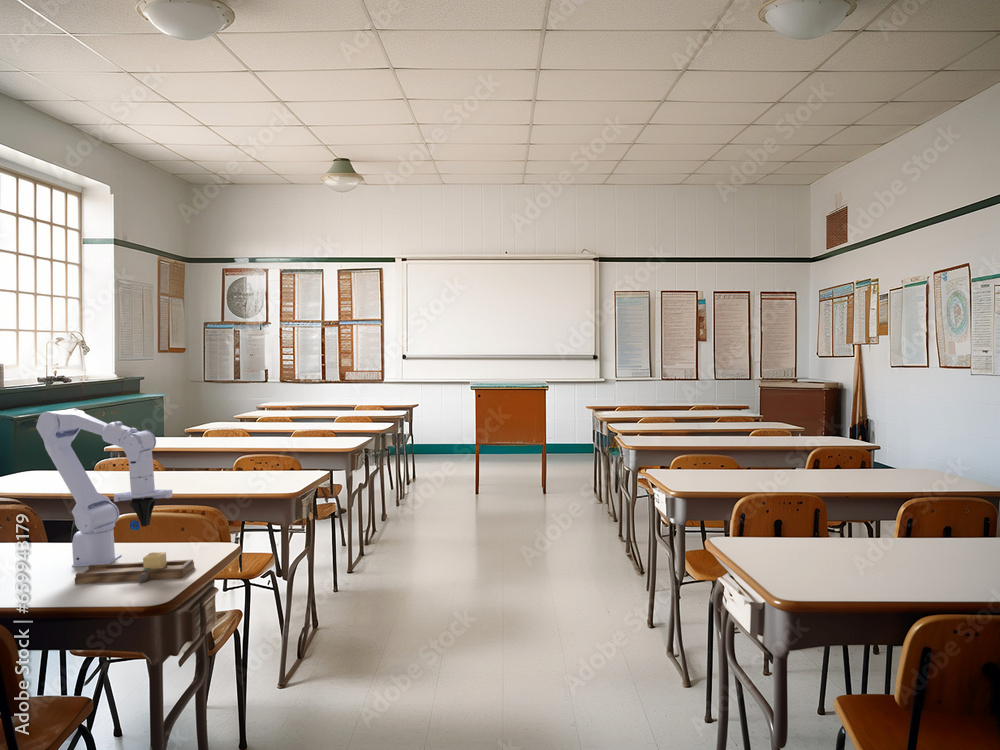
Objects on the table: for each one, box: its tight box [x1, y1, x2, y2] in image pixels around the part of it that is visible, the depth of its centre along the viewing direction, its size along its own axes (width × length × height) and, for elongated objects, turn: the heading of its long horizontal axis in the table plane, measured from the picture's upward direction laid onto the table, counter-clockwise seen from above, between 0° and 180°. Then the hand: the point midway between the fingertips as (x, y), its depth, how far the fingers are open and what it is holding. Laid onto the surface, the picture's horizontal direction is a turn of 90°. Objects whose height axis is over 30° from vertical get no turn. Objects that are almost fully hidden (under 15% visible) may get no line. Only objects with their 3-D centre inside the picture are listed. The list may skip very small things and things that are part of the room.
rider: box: [142, 551, 167, 569], centre depth 169 cm, size 4×4×4 cm
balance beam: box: [74, 559, 195, 585], centre depth 169 cm, size 26×12×2 cm, turn 95°
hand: (145, 525), depth 178 cm, fingers closed
